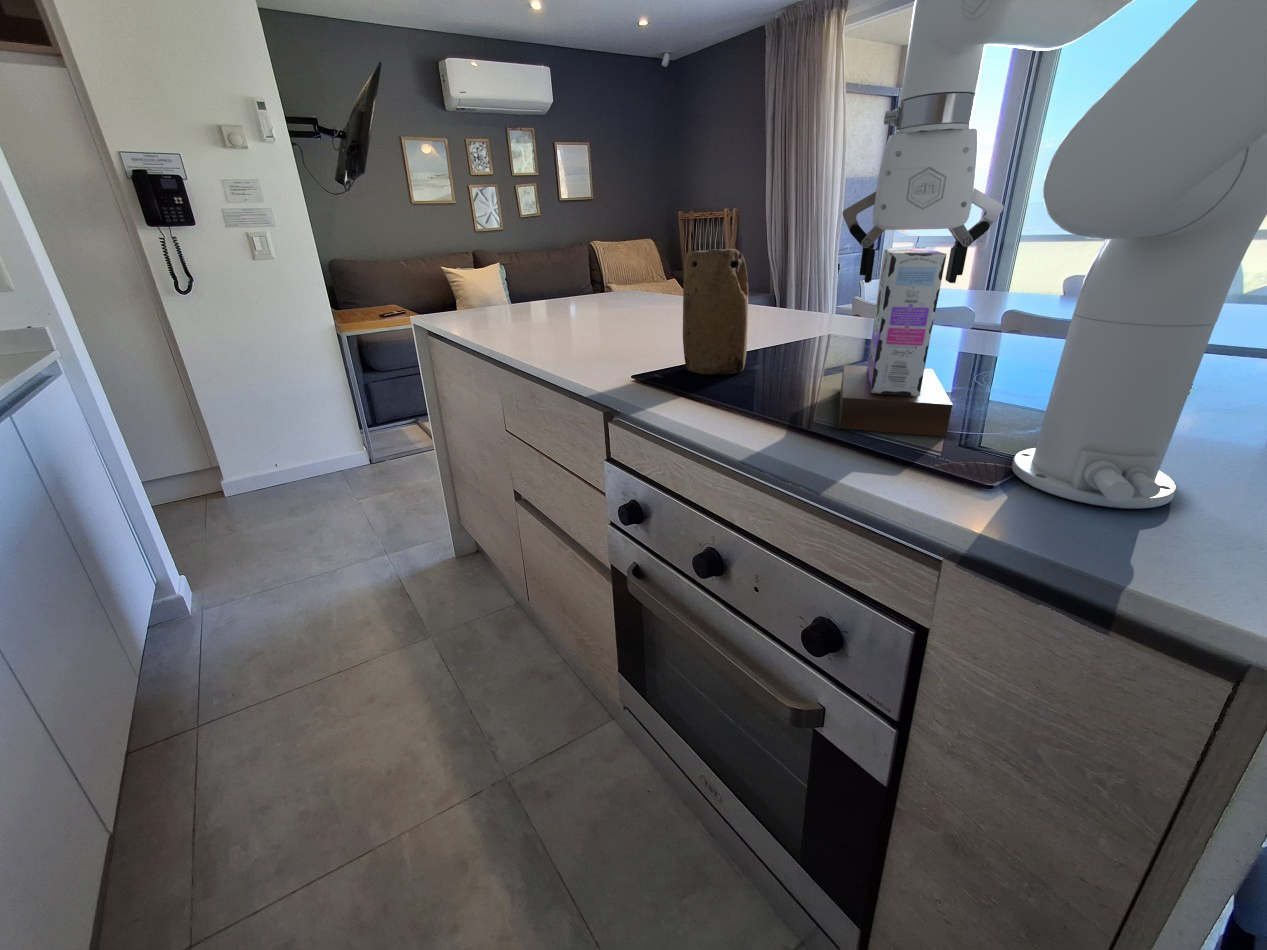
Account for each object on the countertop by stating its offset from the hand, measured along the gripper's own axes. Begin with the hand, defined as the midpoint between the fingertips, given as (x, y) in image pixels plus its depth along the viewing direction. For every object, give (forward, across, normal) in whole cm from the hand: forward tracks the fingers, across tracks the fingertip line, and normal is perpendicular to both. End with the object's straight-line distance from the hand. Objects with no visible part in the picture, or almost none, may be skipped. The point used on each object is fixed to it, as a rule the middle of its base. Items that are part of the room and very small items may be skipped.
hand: (907, 281), depth 70 cm
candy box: (+13, 0, 0) cm, 13 cm away
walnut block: (+17, 0, 0) cm, 17 cm away
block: (+17, -27, +17) cm, 36 cm away
